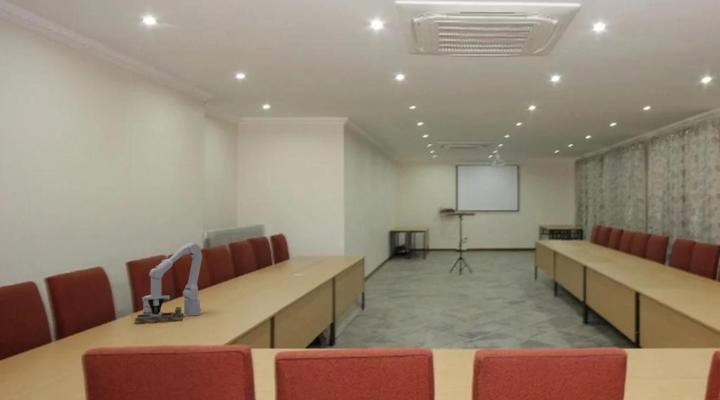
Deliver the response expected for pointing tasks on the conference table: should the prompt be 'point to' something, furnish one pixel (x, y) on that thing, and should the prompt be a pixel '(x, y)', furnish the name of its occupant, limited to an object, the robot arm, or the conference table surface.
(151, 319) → the board
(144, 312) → the ink box
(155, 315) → the carriage
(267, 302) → the conference table surface
